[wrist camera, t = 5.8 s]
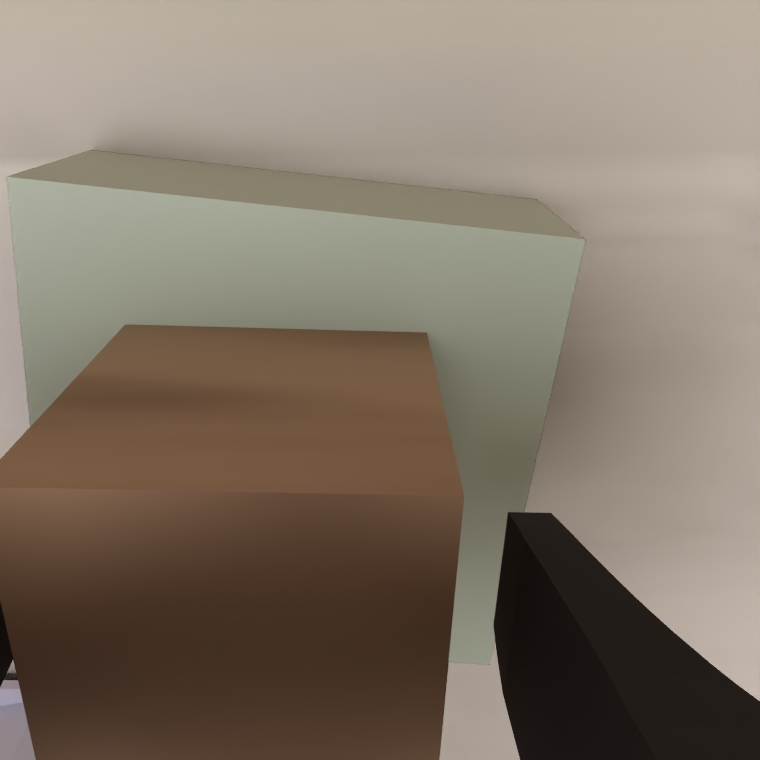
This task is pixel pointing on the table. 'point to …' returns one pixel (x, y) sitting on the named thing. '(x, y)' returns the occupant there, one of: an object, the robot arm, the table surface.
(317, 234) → the sage block
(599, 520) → the table surface
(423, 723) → the walnut cube
